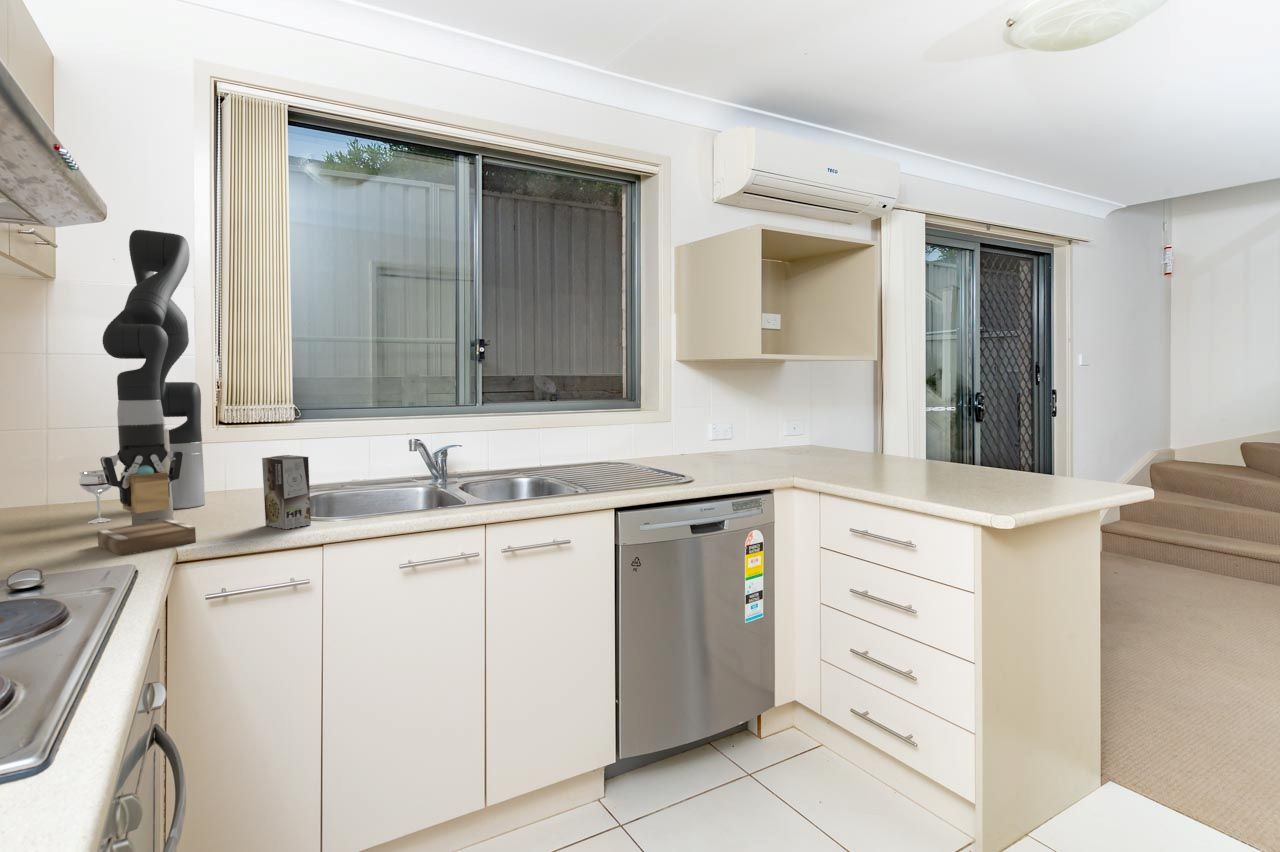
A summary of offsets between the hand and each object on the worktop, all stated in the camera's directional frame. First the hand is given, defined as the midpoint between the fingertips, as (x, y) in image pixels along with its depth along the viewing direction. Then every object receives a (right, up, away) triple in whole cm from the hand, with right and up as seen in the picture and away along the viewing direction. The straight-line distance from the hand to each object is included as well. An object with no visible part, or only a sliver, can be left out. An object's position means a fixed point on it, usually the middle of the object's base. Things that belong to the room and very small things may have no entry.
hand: (145, 503), depth 140 cm
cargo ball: (0, +5, 0) cm, 5 cm away
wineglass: (-28, -7, +23) cm, 37 cm away
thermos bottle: (-12, -7, +19) cm, 24 cm away
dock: (0, -9, +1) cm, 8 cm away
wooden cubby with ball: (0, -1, 0) cm, 1 cm away
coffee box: (+20, -7, +18) cm, 28 cm away
